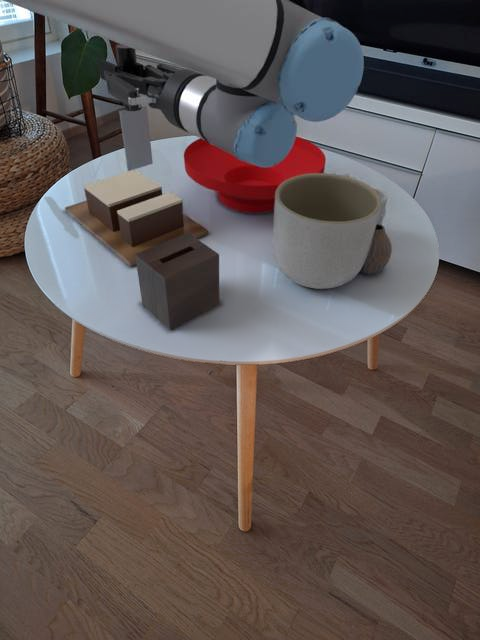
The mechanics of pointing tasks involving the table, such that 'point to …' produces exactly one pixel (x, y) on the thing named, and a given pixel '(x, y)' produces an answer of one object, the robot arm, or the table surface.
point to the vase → (378, 252)
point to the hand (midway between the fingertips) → (111, 67)
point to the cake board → (114, 238)
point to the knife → (134, 119)
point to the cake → (118, 195)
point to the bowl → (248, 173)
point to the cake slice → (151, 219)
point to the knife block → (178, 279)
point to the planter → (323, 228)
